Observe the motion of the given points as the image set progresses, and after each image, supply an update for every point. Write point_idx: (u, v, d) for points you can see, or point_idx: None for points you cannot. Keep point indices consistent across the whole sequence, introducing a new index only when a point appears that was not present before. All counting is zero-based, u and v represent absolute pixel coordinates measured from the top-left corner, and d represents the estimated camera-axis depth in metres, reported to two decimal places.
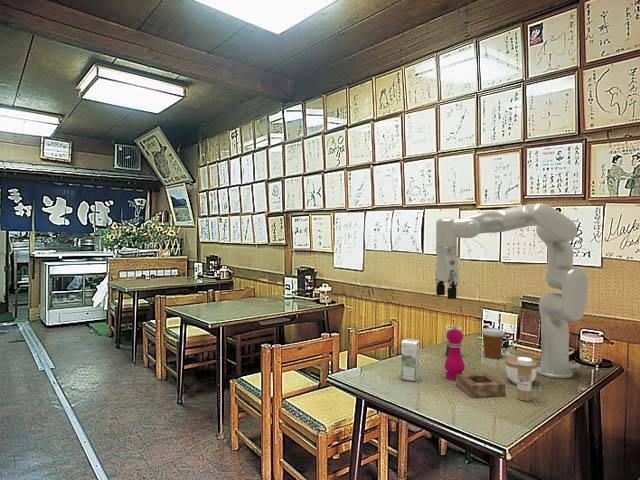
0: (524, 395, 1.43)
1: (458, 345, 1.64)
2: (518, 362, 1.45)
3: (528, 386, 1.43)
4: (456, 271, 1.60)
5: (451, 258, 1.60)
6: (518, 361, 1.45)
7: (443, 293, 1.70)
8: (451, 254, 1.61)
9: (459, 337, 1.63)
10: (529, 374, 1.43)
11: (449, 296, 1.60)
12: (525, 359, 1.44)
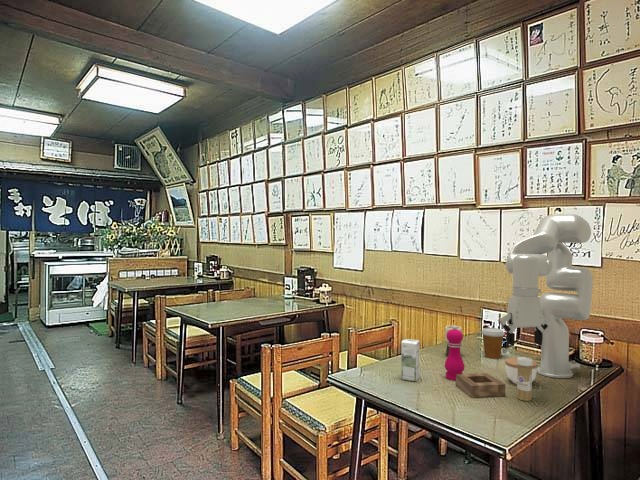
0: (524, 395, 1.43)
1: (458, 345, 1.64)
2: (518, 362, 1.45)
3: (528, 386, 1.43)
4: None
5: None
6: (518, 361, 1.45)
7: None
8: None
9: (459, 337, 1.63)
10: (529, 374, 1.43)
11: None
12: (525, 359, 1.44)
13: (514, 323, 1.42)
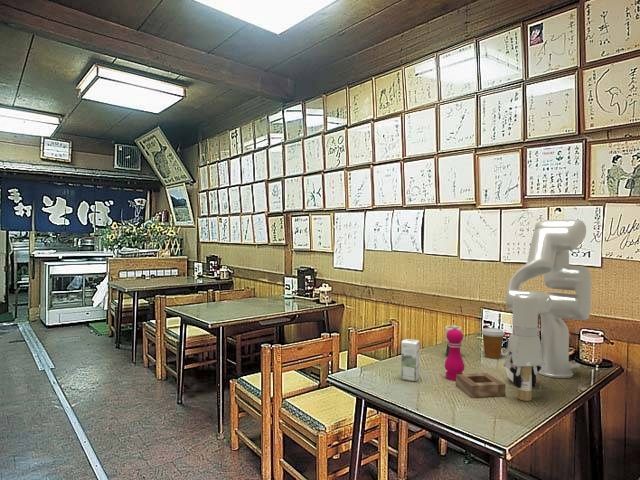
0: (524, 395, 1.43)
1: (458, 345, 1.64)
2: None
3: (528, 386, 1.43)
4: None
5: None
6: None
7: None
8: None
9: (459, 337, 1.63)
10: (529, 374, 1.43)
11: None
12: None
13: (514, 363, 1.43)
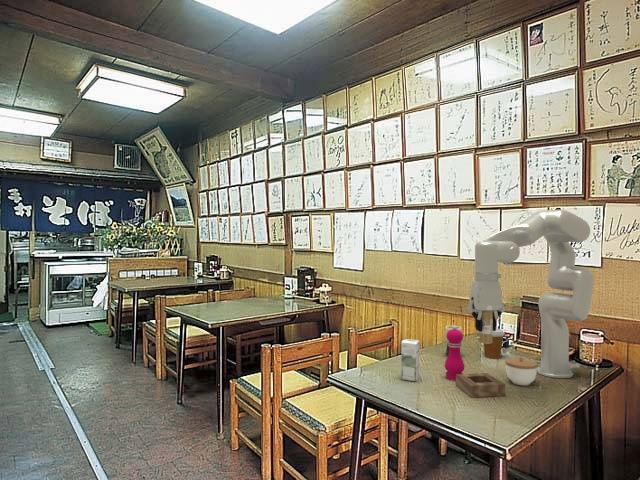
0: (485, 338, 1.50)
1: (458, 345, 1.64)
2: None
3: (489, 329, 1.49)
4: None
5: None
6: None
7: None
8: None
9: (459, 337, 1.63)
10: (490, 318, 1.49)
11: None
12: None
13: (475, 307, 1.49)
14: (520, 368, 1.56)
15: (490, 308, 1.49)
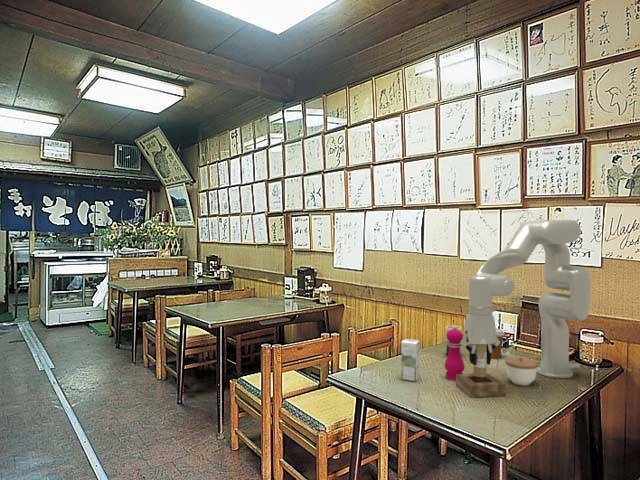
0: (479, 372, 1.51)
1: (458, 345, 1.64)
2: None
3: (482, 363, 1.51)
4: None
5: None
6: None
7: None
8: None
9: (459, 337, 1.63)
10: (483, 352, 1.51)
11: None
12: None
13: (469, 341, 1.50)
14: (520, 368, 1.56)
15: (484, 342, 1.50)
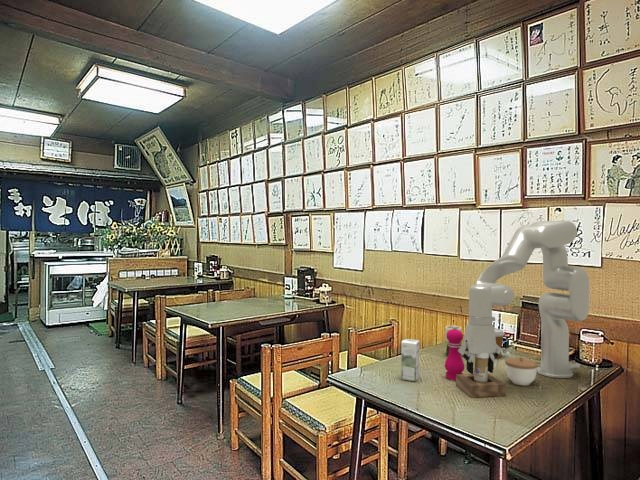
0: None
1: (458, 345, 1.64)
2: (475, 354, 1.52)
3: (483, 377, 1.51)
4: None
5: None
6: None
7: None
8: None
9: (459, 337, 1.63)
10: (485, 366, 1.51)
11: None
12: None
13: (469, 350, 1.50)
14: (520, 368, 1.56)
15: (485, 356, 1.50)
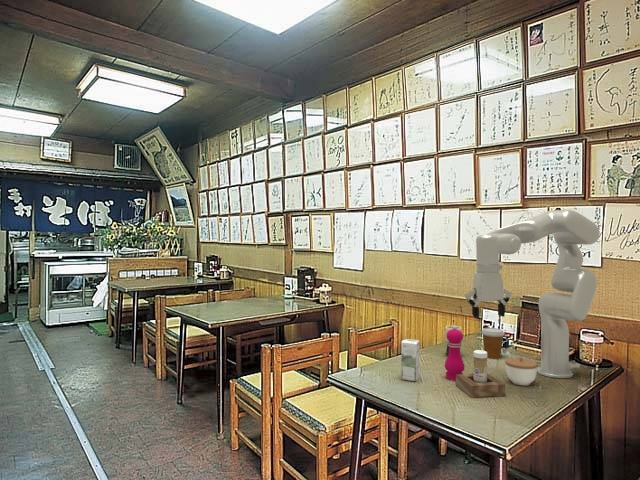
0: None
1: (458, 345, 1.64)
2: (474, 355, 1.52)
3: (482, 377, 1.51)
4: None
5: None
6: (474, 354, 1.52)
7: None
8: None
9: (459, 337, 1.63)
10: (484, 366, 1.51)
11: None
12: (480, 352, 1.52)
13: (478, 297, 1.55)
14: (520, 368, 1.56)
15: (484, 356, 1.51)
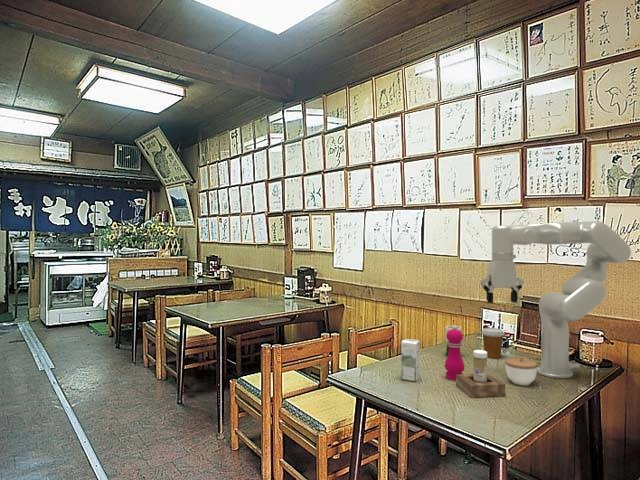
0: None
1: (458, 345, 1.64)
2: (474, 355, 1.53)
3: (482, 377, 1.51)
4: None
5: None
6: (474, 354, 1.53)
7: None
8: None
9: (459, 337, 1.63)
10: (483, 366, 1.51)
11: None
12: (480, 352, 1.52)
13: (493, 284, 1.66)
14: (520, 368, 1.56)
15: (484, 356, 1.51)
